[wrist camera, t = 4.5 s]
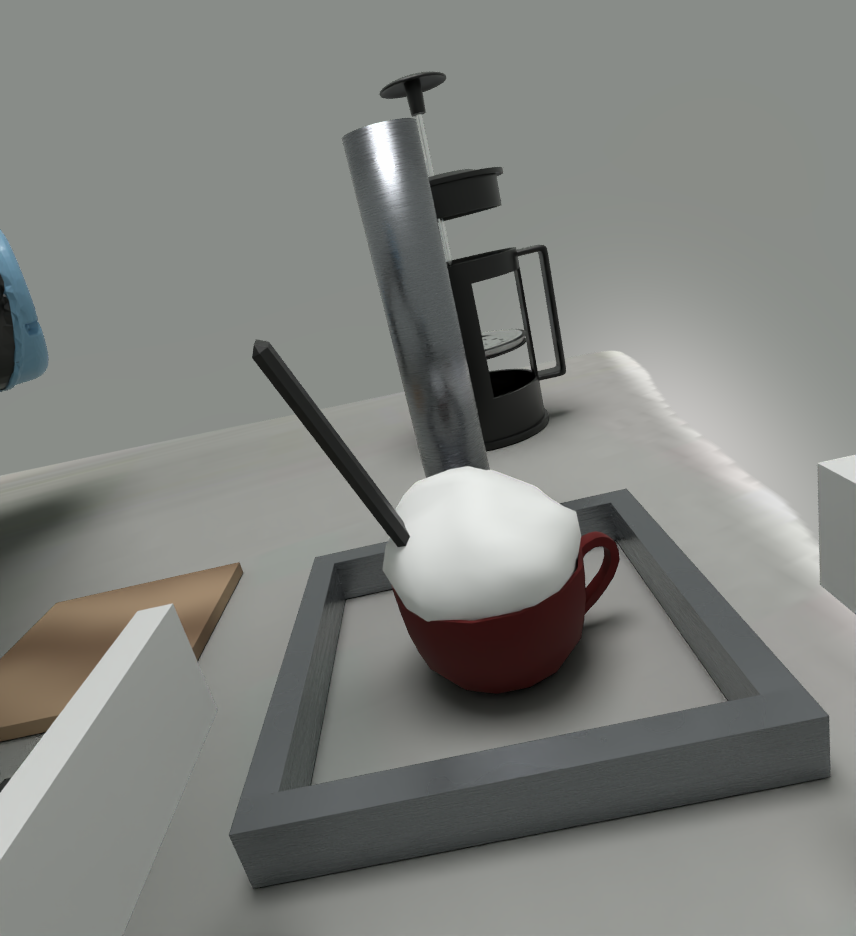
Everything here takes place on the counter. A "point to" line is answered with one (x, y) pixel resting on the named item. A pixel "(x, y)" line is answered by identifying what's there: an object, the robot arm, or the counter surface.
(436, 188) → the french press
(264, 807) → the ring stand
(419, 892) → the counter surface
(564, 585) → the cocoa
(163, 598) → the walnut coaster
